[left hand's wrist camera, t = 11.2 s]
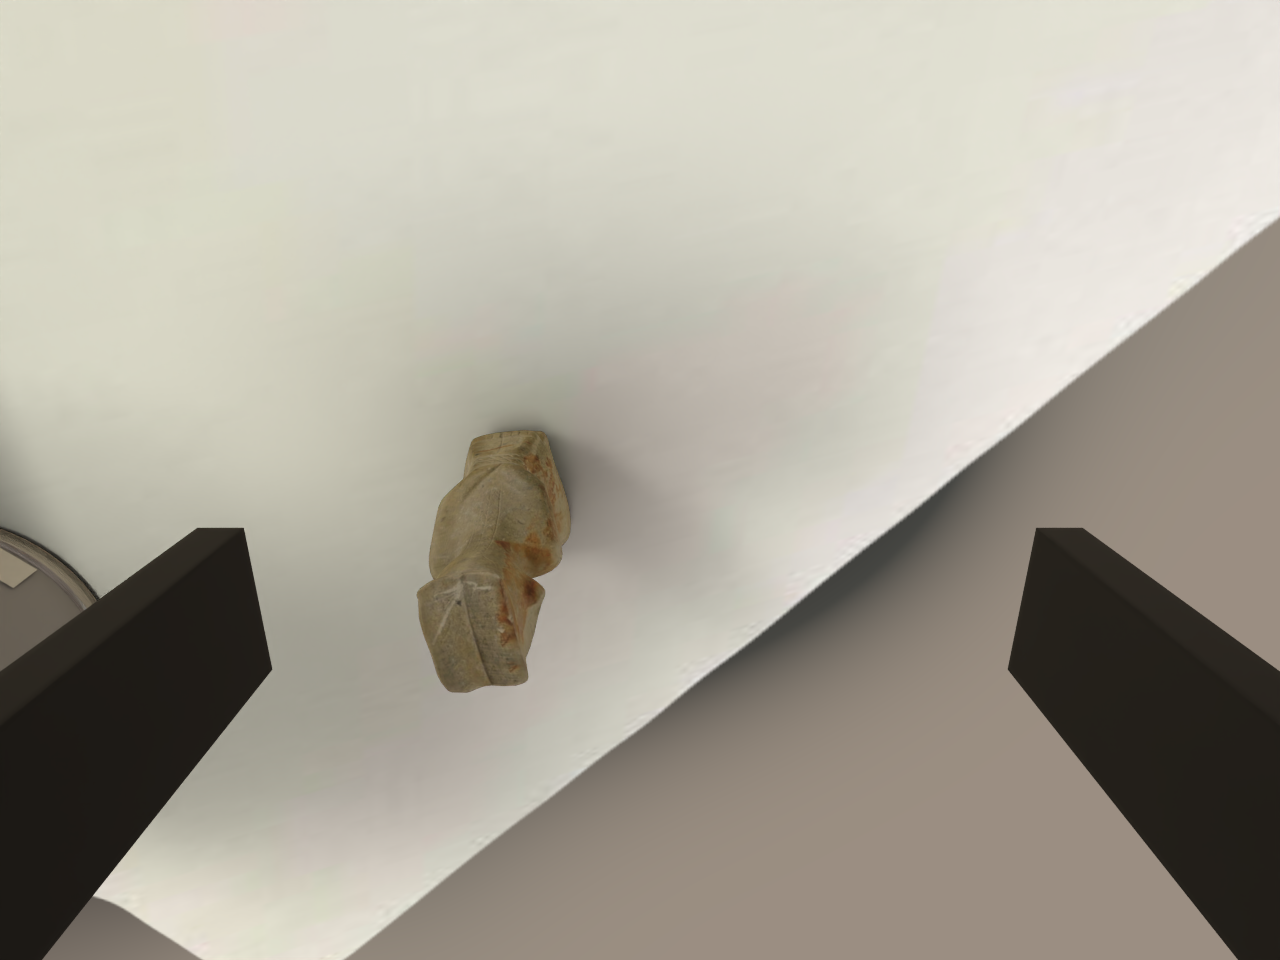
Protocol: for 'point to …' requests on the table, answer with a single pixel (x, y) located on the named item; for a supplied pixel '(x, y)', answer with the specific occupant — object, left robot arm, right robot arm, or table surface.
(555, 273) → the table surface
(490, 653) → the sculpture
